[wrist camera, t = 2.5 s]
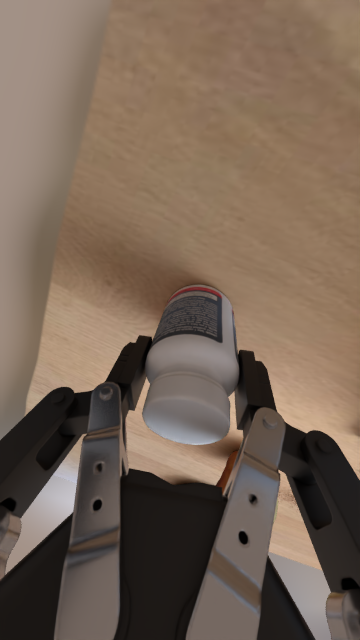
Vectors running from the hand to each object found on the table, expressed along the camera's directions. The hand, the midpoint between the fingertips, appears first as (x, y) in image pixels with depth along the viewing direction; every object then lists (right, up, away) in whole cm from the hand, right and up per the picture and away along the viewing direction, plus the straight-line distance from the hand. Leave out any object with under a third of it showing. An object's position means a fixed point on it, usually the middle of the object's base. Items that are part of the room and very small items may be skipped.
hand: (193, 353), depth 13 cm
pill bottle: (+1, +3, +4) cm, 5 cm away
